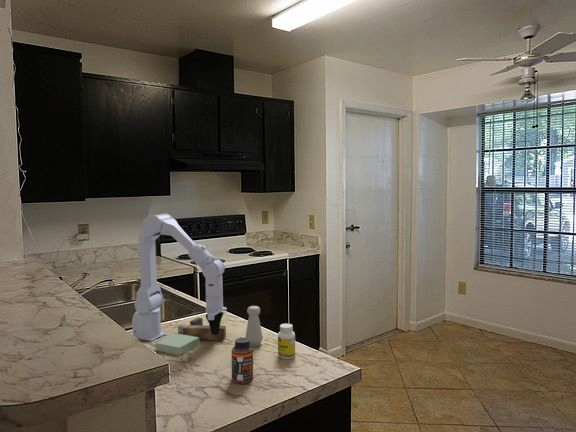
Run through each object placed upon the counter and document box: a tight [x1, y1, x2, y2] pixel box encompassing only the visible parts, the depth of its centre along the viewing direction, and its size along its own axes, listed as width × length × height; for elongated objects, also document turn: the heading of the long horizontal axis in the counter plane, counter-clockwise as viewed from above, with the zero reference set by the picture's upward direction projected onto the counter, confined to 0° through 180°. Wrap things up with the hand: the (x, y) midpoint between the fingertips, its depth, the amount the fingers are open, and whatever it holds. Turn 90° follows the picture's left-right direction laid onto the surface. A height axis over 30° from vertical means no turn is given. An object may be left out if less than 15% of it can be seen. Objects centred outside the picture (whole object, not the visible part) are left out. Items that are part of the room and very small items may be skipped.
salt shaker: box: [244, 305, 264, 348], centre depth 145 cm, size 6×6×13 cm
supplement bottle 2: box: [277, 323, 296, 360], centre depth 136 cm, size 5×5×10 cm
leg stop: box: [189, 317, 204, 325], centre depth 164 cm, size 2×5×3 cm, turn 155°
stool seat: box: [155, 332, 200, 356], centre depth 144 cm, size 10×10×2 cm
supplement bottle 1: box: [231, 337, 254, 385], centre depth 119 cm, size 6×6×11 cm
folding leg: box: [177, 324, 227, 341], centre depth 152 cm, size 17×3×4 cm, turn 87°
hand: (215, 334), depth 149 cm, fingers closed
